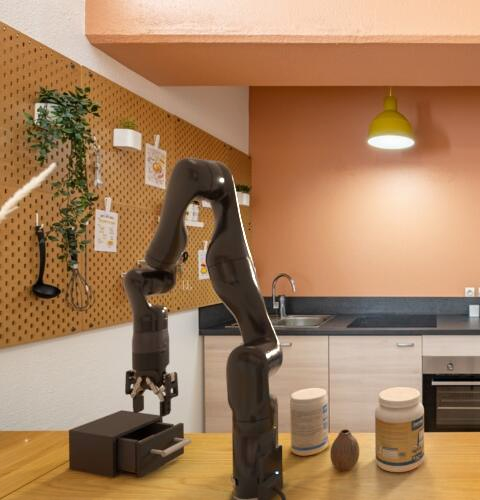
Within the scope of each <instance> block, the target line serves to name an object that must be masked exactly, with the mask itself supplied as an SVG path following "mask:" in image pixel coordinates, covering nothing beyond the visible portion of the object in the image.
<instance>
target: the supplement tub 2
mask: <svg viewBox="0 0 480 500" xmlns="http://www.w3.org/2000/svg"><path fill="white" fill-rule="evenodd" d="M421 400H422V398H421V392H420V391H419V390H418V389H416V388H413V387H408V386H407V387H405V386H399V387H391V388H387V389H384V390H382V391H380V392H379V394H378V401H377V402H378V404H377V406H376V407H375V411H374V416H375V417H374V423H375V424H374V427H375V429H374V430H375V431H374V434H375V435H374V436H375V437H374V438H375V439H374V440H375V441H374V442H375V443H374V444H375V463H376V464H377V466H378V467H379V468H381V469H382V470H385V471H387V472H390V473H404V472H409V471H412V470H415V469H417V468H418V467H420V466H421V464H422V463H423V461H424V459H425V408H424V405H423V404H422V402H421Z"/></svg>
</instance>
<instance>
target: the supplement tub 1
mask: <svg viewBox="0 0 480 500" xmlns="http://www.w3.org/2000/svg"><path fill="white" fill-rule="evenodd" d="M289 410H290V411H289V418H290V423H289V424H290V425H289V426H290V450H291V452H292V453H293V454H295V455H296V456H302V457H303V456H304V457H305V456H312V455H316V454H319V453H320V452H322V451H324V450H325V449H326V448H327V447H328V444H329V417H328V416H329V415H328V394H327V390H325V388H321V387H309V388H308V387H307V388H303V389H298V390H295V391H294V392H292V393H291V395H290V401H289Z"/></svg>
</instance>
